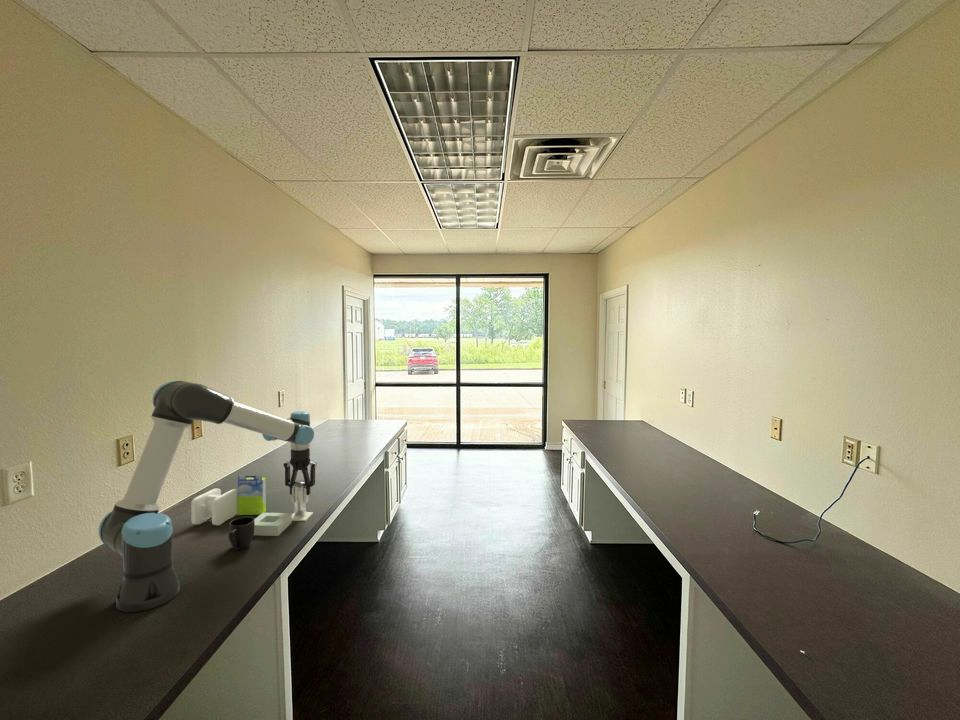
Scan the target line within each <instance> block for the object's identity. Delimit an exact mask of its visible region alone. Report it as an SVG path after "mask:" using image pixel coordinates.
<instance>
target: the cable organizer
mask: <svg viewBox="0 0 960 720" xmlns="http://www.w3.org/2000/svg"><path fill="white" fill-rule="evenodd" d="M190 503H191V504H190V505H191V508H190V510H191V511H190V512H191V513H190V514H191V524H192V525H195V526H196V525H202V524H203V523H205V522H207V521H208V520H209V519H211V523H212V525H213V526H221V525H222V524H224V523H225V522H226V521H228V520H230V519H232V518H234V517H235V516H236V515H238V488H237V489H236V488H233V489H231V490H228V491H226V492H224V493H223V494H222V490H221V489H220V488H215V487H214V488H213V489H210V490H208V491H206V492H204V493H202V494H200V495H197V496H196V497H194V498H193V499H192V500H191V502H190Z"/></svg>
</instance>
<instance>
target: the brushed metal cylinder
mask: <svg viewBox="0 0 960 720" xmlns="http://www.w3.org/2000/svg"><path fill="white" fill-rule="evenodd" d="M305 487H306V485H305V481H304V479H302V480H296V481H295V482H294V503H293V504H294V507H293V509H294V510H293V511H294V512H293V513H294V515H295V516H303V515H305V514H306V512H307V503H304V488H305Z"/></svg>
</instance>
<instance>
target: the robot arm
mask: <svg viewBox="0 0 960 720" xmlns="http://www.w3.org/2000/svg"><path fill="white" fill-rule="evenodd" d="M152 405H153V407H154V409H153V410H152V414H151V416H150V418H151V420H152V421H153V422H154V423H153V426H152V428H151V430H150V433H149V435H148V439H147V441H146V442H145V446H144V448H143V451H142V453H141V455H140V458H139V460H138V463H137V465H136V468H135V469H134V472H133V475H132V478H131V480H130V482H129V485H128V487H127V490H126V491H125V492H126V493H125V495H124V497H123V498H122V499H120V500H118V501H117V502H115V504H114V506H113V509H112V510H111V511H110V512H109V513H107V514H106V515H105V516H104V517H103V518H102V519H101V521H100V523H99V527H98V536H99V538H100V539H99V540H100V541H101V542H102V544H104V546H105V547H106V548H108V549H111V550H112V551H113V552H116V553H117V554H118V555H120V556H121V557H122V570H123V572H122V573H123V575H122V577H123V578H122V581H121V582H120V583H121V584H120V585H119V588H118V592H117V594H116V597H115V607H116V609H117V610H119V611H120V612H124V613H137V612H144V611H147V610H152V609H155V608H157V607H159V606H162V605H163V604H164V605H165V604H166V603H168V602H170V601H171V600H172V599H174V598H175V597H176V596H178V595H179V592H180V590H181V589H180V588H181V586H180V583H181V582H180V579H179V577H178V575H177V573H176V571H175V569H174V566H173V529H174V527H173V524H172V523H173V522H172V519H171V518H170V516H168V515H167V514H165V513H160V507H159V505H158V503H157V500H158V499H159V496H160V494H161V492H162V491H161V490H162V488H163V485H164V484H165V480H166V478H167V475H168V472H169V469H170V467H171V465H172V462H173V460H174V457H175V455H176V452H177V450H178V448H179V445H180V442H181V439H182V437H183V433H184V431H185V430H186V429H188V428H189V427H191V426H192V425H193V422H194V420H195V421H202V422H209V423H212V424H213V423H214V424H216V425H220V424H223V423H224V424H228V425H231V426H234V427H238V428H241V429H245V430H248V431H252V432H255V433H258V434H261V435H262V437H263V439H264V440H265V441H268V442H269V441H276V440H279V441H284V442H287V443H290V460H289V461H285V462H284V463H283V467H284V485H285V486H286V487H289V494H290V496H291V504H294V482H296V481H297V476H298V472H299V471H301V473H302V476H303V480H304V481H305V485H306V487H305V488H304V503H306V504H307V503H308V502H309V495H310V494H311V488H312V487H314V486H315V485H316V467H317V464H318V463H317V462H313V461H311V458H310V457H311V456H310V455H311V452H310V451H311V449H310V447H311V445H310V443H312V441H313V439H314V437H315V431H314V429H313V428H312V426H311V417H310V416H311V415H310V413H309V412H308V411H293V412H291V413H290V418H284V417H280V416H278V415H275V414H272V413H269V412H267V411H263V410H260V409H258V408H255V407H251V406H249V405H245V404H243V403H240V402H237V401H234V399H233V397H231V396H229V395H226V394H224V393H221V392H219V391H217V390H215V389H212V388H211V387H208V386H206V385H203V384H201V383H193V382H188V381H184V380H171V381H167V382H165V383H163V384H161V385H160V386H159V387H158V388H157V389H156V390H155V391H154V393H153V395H152ZM291 466H292V473H291ZM308 467H310V471H309V468H308Z"/></svg>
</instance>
